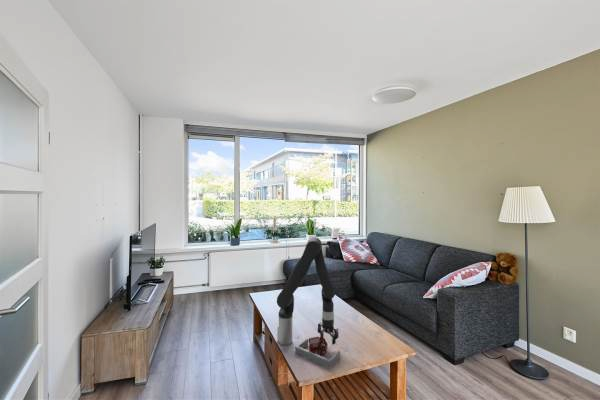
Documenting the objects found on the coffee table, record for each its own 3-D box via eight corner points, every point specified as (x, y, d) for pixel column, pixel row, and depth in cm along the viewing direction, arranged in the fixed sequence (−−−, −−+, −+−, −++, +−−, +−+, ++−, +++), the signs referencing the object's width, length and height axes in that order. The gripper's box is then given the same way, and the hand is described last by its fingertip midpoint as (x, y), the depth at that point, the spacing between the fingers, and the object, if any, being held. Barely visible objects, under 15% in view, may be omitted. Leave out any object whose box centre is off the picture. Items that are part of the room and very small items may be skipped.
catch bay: (295, 352, 170) (295, 346, 170) (306, 344, 180) (306, 338, 180) (329, 368, 155) (329, 361, 155) (340, 358, 165) (340, 351, 165)
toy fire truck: (329, 354, 169) (329, 337, 168) (311, 358, 164) (311, 341, 164) (324, 348, 175) (325, 332, 175) (306, 352, 171) (306, 335, 171)
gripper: (315, 316, 178) (315, 340, 178) (334, 322, 169) (334, 348, 170) (321, 312, 184) (321, 336, 184) (340, 318, 175) (340, 343, 176)
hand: (327, 341), depth 177 cm, fingers open, 8 cm apart
